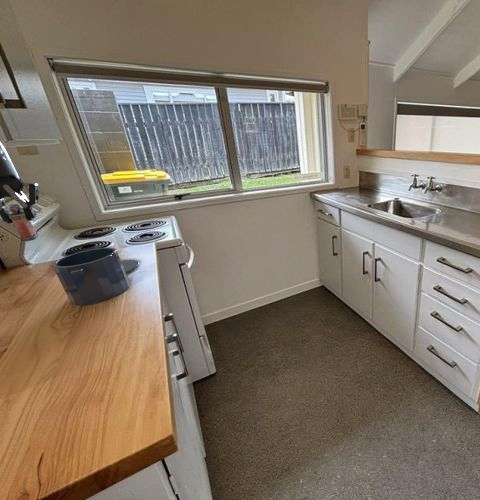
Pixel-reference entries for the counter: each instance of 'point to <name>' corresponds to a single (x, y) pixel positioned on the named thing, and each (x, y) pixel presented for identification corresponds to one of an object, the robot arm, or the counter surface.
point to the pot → (92, 276)
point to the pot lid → (129, 265)
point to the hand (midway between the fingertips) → (21, 221)
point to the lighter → (22, 223)
